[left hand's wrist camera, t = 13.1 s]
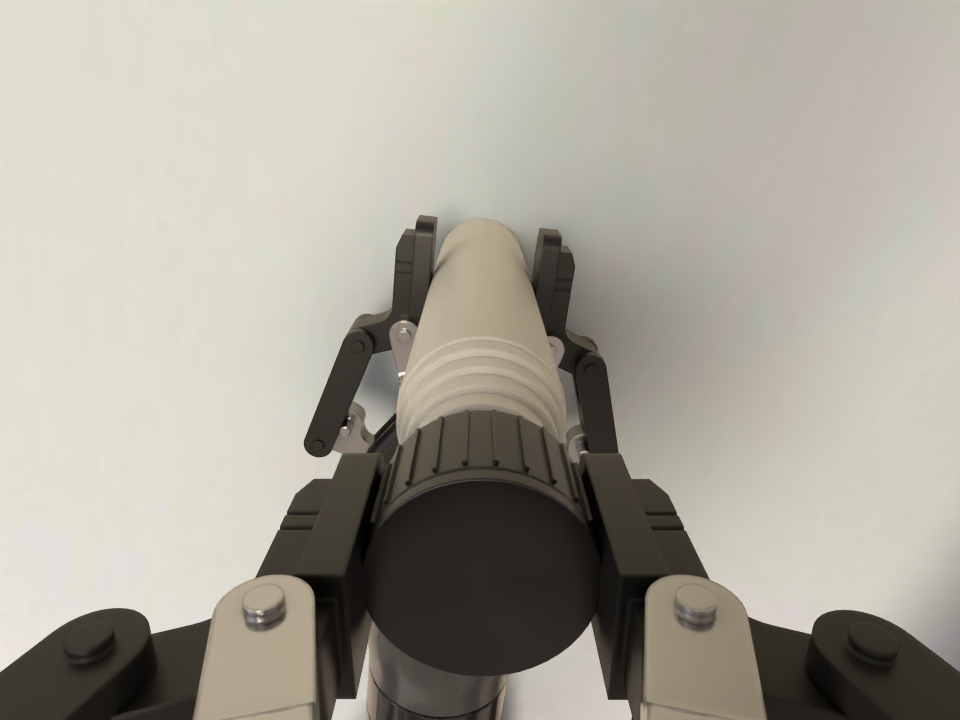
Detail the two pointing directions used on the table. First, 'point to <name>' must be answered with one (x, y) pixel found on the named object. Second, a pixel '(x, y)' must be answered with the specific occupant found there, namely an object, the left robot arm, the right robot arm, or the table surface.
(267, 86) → the table surface
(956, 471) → the table surface
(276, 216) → the table surface
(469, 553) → the cap
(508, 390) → the bottle
